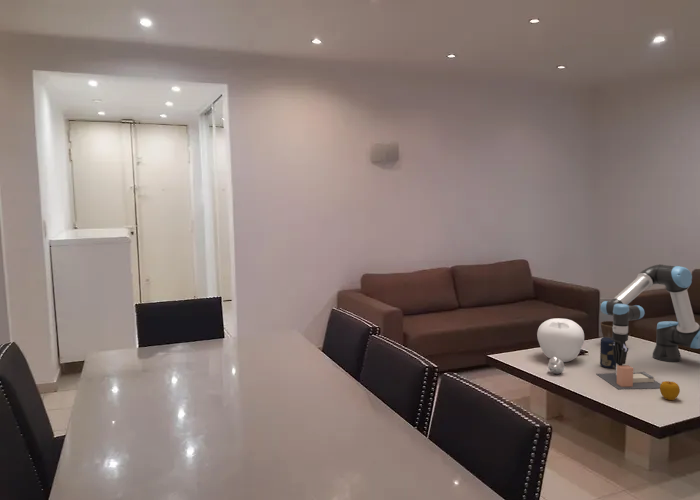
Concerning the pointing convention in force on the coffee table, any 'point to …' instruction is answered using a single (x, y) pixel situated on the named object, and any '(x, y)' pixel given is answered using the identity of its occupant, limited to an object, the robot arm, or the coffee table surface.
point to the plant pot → (607, 328)
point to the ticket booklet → (642, 377)
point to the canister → (607, 353)
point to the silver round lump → (556, 365)
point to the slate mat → (612, 380)
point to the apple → (669, 390)
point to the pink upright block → (624, 375)
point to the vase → (560, 338)
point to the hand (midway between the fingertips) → (618, 375)
